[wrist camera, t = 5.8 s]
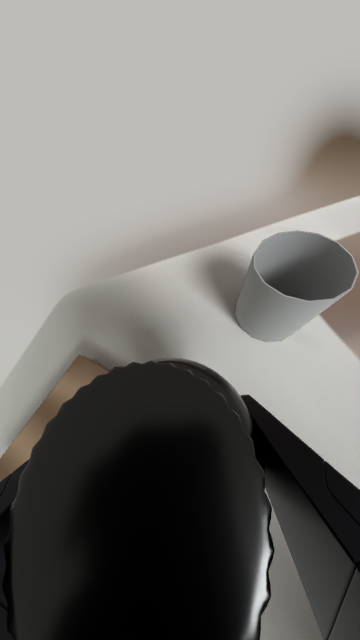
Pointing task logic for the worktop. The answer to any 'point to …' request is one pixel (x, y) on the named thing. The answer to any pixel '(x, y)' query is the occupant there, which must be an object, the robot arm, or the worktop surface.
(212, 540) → the supplement bottle
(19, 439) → the walnut block
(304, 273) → the cup
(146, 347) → the worktop surface
